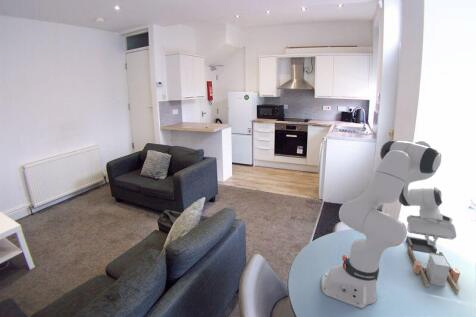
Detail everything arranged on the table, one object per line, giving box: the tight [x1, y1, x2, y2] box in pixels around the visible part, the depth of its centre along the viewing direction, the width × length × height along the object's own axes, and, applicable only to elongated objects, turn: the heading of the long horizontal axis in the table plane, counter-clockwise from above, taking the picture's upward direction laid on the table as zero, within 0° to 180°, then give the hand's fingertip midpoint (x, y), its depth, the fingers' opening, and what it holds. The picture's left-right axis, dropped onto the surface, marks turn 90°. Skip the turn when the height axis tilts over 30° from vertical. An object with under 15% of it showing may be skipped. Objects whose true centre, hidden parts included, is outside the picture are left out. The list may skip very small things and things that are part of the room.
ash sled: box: [419, 252, 460, 295], centre depth 124 cm, size 12×14×9 cm
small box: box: [425, 253, 451, 287], centre depth 124 cm, size 8×6×10 cm
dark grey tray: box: [405, 235, 438, 254], centre depth 148 cm, size 12×9×3 cm
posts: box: [412, 260, 461, 283], centre depth 127 cm, size 17×3×5 cm, turn 71°
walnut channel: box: [407, 245, 453, 274], centre depth 137 cm, size 15×14×3 cm
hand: (431, 244), depth 135 cm, fingers closed
